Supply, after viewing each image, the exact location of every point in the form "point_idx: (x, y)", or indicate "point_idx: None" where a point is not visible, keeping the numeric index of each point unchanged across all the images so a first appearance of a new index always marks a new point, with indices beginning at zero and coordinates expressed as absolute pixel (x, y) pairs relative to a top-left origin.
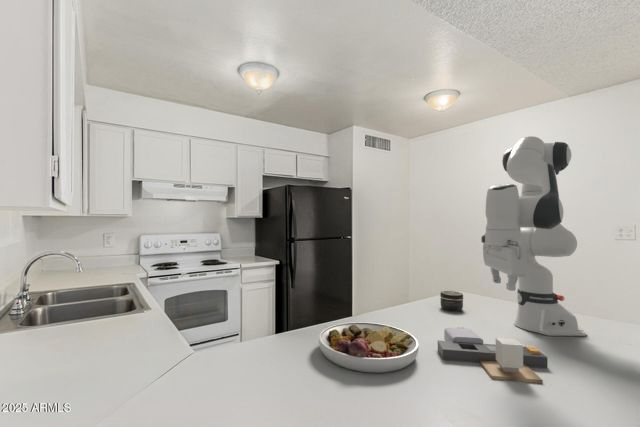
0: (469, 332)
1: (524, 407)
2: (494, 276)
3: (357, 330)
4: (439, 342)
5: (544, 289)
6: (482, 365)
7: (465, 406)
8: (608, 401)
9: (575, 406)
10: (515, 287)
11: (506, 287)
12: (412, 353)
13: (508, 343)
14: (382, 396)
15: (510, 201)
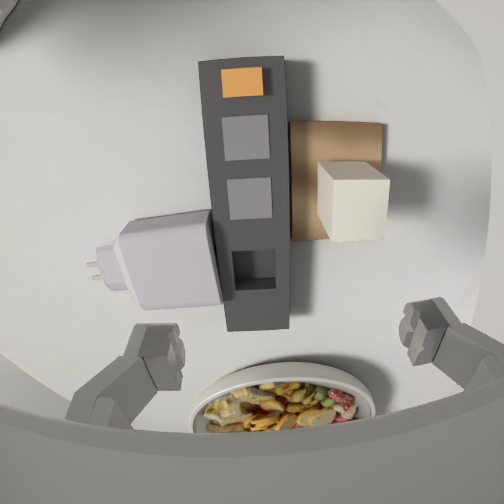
0: (161, 255)
1: (462, 213)
2: (151, 388)
3: None
4: (241, 329)
5: None
6: (314, 237)
7: (451, 298)
8: (428, 31)
9: (457, 115)
10: (449, 307)
11: (402, 342)
12: (348, 382)
13: (378, 219)
14: (416, 380)
15: None
